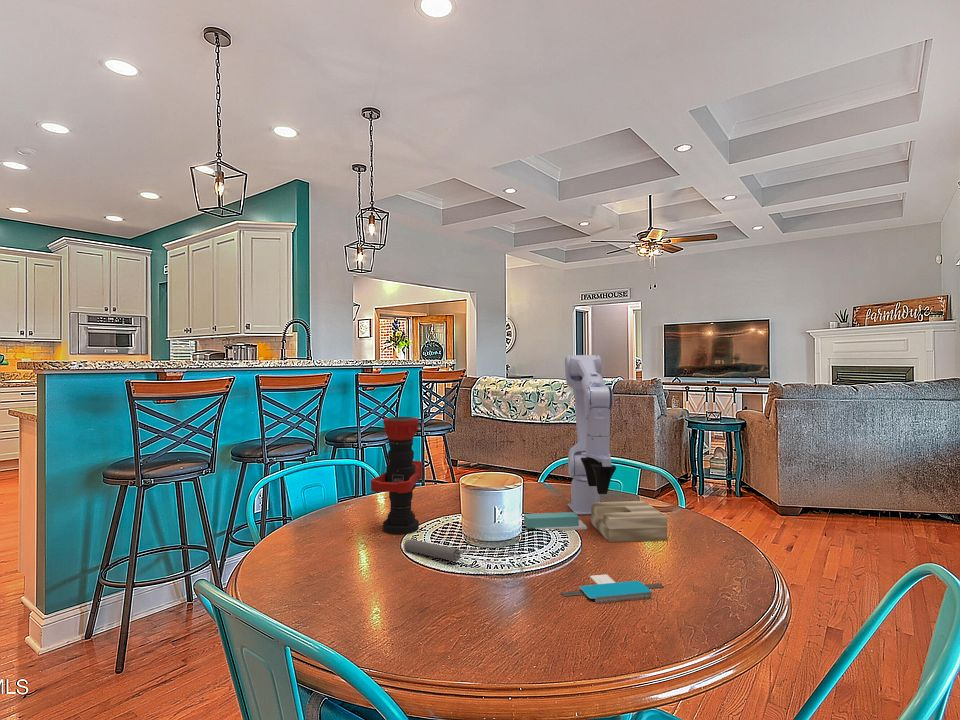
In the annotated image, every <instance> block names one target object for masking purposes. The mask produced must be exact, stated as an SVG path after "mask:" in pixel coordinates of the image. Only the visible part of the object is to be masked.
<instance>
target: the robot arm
mask: <svg viewBox="0 0 960 720" xmlns="http://www.w3.org/2000/svg"><path fill="white" fill-rule="evenodd" d="M601 372H602V357H601V356H600V355H599V354H579V355H578V354H567V355H566V356H565V358H564V374H565V376H564V377H565V382H566V386H568V387H569V388H570V389H572V392H573V396H574V408H575V410H574V411H575V425H576V438H577V441H576V443H575V444H574V445H573V446H571V447H570V448H569V450H568V454H567V455H568V456H567V457H568V458H567V472H568V476H570V478H572V480H571V481H570V482H571V483H570V503H567V506H568V508H569V509H571V511H572V512H574V513H575V514H576V515H577V516H579V515H580V516H581V515H591V502H601V495H608V491H609V488H610V483H611V480H612V477H613V475H614V473H615V471H616V470H617V466H616V465H614V464H613V465H612V458H611V456H612V455H611V452H610V448H611V446H610V445H611V443H610V442H611V435H610V434H611V410H612V408H613V404H614V393H613V388H612V386H610V385H606V383H605V380H604V378H603V376H602V375H601Z"/></svg>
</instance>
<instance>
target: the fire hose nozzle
mask: <svg viewBox="0 0 960 720" xmlns="http://www.w3.org/2000/svg"><path fill="white" fill-rule="evenodd" d="M382 421H383V423H382V424H383V427H384V429H383V430H384V432H385V435H386V436H387V438H388V446H389V450H387V451H388V452H387V460H388V465H387V466H386V467H385V468H386V469H385V472H383V473H382V474H380V475H378V476H376V477H373V478H371V479H370V491H371V492H374V493H380V492H383V493H387V492H388V499H389V501H390V511H389V512H388V514H387V518H386V519H385V520H384V521H383V522H382V532H384V533H386V534H390V535H409V534H412V533H414V532H415V533H416V532H417V531H418V530H419V528H420V527H419V525H420V524H419V523H420V521H419V519H417V518H416V514H415V513H414V512H413V511H412V500H413V497H414V494H413V490H414V489H416V488H417V487H416V484H417V483H418V482H419V481H420V480H422V479H423V464H422V463H423V462H422V461H420V460H414V458H415V452H414V450H413V445H414V438H415V435H416V433H417V432H418V428H419V427H418V426H419V425H418V424H419V418H418V417H413V416H412V417H410V416H392V417H385V418H383V419H382Z"/></svg>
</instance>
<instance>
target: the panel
mask: <svg viewBox="0 0 960 720" xmlns="http://www.w3.org/2000/svg"><path fill="white" fill-rule="evenodd" d="M535 529H559V530H558V531H580V530H584V531H586V530H588V526H587V525H586V524H585V523H584V522H583V521H582V520H581V519H579V526H573V527H550V528H535Z"/></svg>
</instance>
